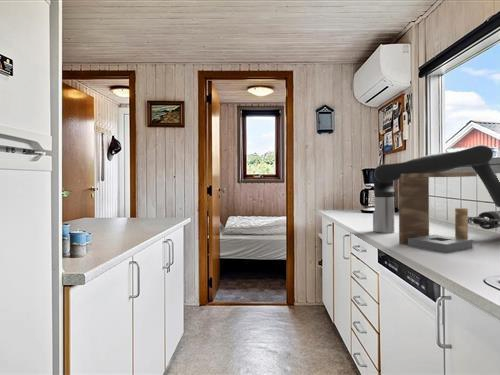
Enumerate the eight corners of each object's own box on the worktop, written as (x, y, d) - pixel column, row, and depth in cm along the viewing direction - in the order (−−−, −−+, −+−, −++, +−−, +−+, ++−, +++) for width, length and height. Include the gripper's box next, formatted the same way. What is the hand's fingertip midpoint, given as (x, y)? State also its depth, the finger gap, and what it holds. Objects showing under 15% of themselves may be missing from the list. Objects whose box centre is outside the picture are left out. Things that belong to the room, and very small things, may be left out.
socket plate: (408, 245, 149) (408, 238, 149) (433, 241, 157) (433, 234, 157) (446, 252, 135) (446, 244, 135) (472, 247, 143) (472, 240, 143)
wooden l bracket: (399, 243, 154) (398, 173, 153) (424, 240, 162) (424, 173, 161) (450, 252, 135) (450, 172, 134) (476, 248, 142) (476, 172, 142)
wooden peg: (452, 243, 153) (452, 208, 153) (459, 242, 156) (459, 208, 155) (463, 244, 150) (463, 209, 149) (470, 243, 152) (470, 208, 151)
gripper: (475, 210, 169) (453, 212, 161) (509, 212, 157) (487, 214, 149) (475, 226, 170) (453, 229, 162) (509, 230, 157) (487, 233, 149)
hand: (469, 222), depth 155 cm, fingers open, 8 cm apart
